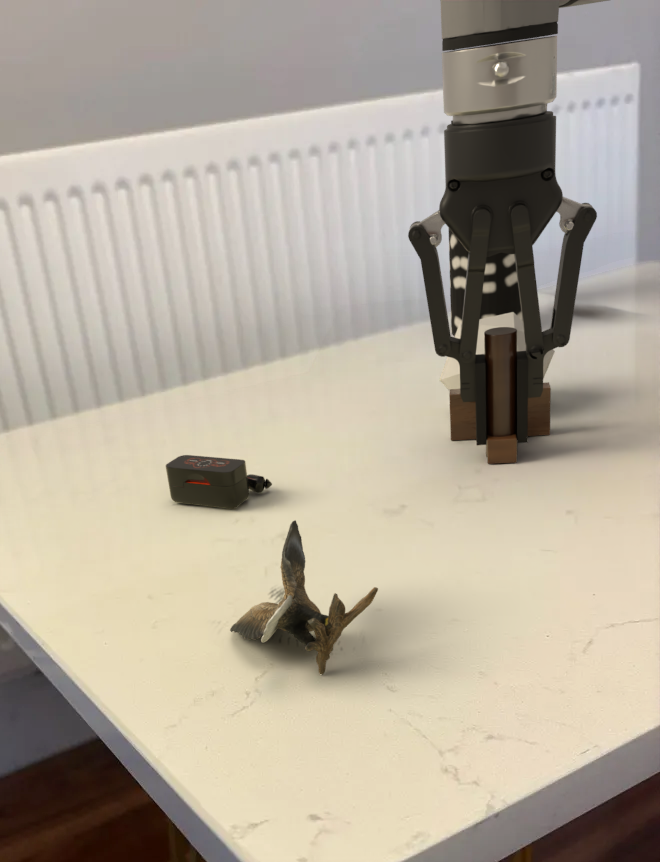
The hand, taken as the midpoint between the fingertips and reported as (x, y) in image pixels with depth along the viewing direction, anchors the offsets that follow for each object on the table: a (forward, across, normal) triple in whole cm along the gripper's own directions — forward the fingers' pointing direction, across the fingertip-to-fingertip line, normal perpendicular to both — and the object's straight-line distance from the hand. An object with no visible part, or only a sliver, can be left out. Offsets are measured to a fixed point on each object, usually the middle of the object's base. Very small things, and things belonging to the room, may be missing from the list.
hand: (501, 437), depth 82 cm
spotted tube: (+2, 0, +41) cm, 41 cm away
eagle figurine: (+2, -13, -29) cm, 32 cm away
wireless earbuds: (+2, -22, -6) cm, 23 cm away
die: (+2, 0, +12) cm, 12 cm away
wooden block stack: (+2, 0, +2) cm, 3 cm away
